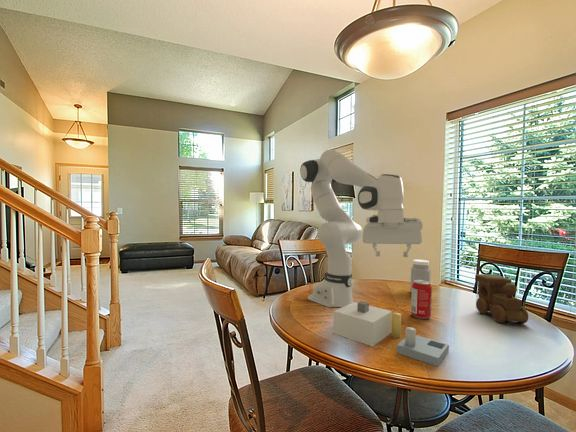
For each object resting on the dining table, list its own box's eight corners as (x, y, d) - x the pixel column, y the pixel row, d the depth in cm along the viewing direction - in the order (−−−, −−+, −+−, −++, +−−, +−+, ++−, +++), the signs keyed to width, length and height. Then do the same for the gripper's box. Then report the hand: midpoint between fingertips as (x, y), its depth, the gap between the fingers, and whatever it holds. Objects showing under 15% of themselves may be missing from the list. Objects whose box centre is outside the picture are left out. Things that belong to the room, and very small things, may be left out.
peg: (390, 336, 106) (390, 313, 106) (393, 333, 108) (394, 311, 108) (398, 338, 104) (399, 316, 104) (401, 336, 106) (402, 314, 106)
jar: (433, 296, 157) (434, 262, 157) (414, 295, 157) (415, 261, 157) (424, 291, 167) (426, 259, 167) (407, 290, 167) (408, 258, 167)
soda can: (407, 316, 126) (409, 281, 126) (414, 312, 132) (415, 278, 132) (427, 321, 121) (428, 285, 121) (433, 316, 127) (434, 281, 126)
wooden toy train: (471, 309, 137) (473, 273, 137) (496, 310, 138) (497, 274, 137) (503, 326, 118) (505, 285, 117) (531, 327, 118) (533, 285, 117)
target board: (396, 352, 94) (397, 329, 94) (410, 340, 103) (411, 319, 103) (437, 366, 86) (438, 341, 86) (448, 352, 95) (449, 328, 95)
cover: (333, 332, 108) (334, 302, 107) (354, 321, 119) (354, 294, 119) (372, 346, 98) (373, 313, 97) (391, 332, 109) (392, 303, 109)
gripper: (421, 218, 108) (421, 256, 107) (363, 218, 114) (363, 254, 114) (423, 217, 102) (424, 258, 101) (361, 218, 108) (362, 256, 108)
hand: (391, 256), depth 108 cm, fingers open, 8 cm apart
